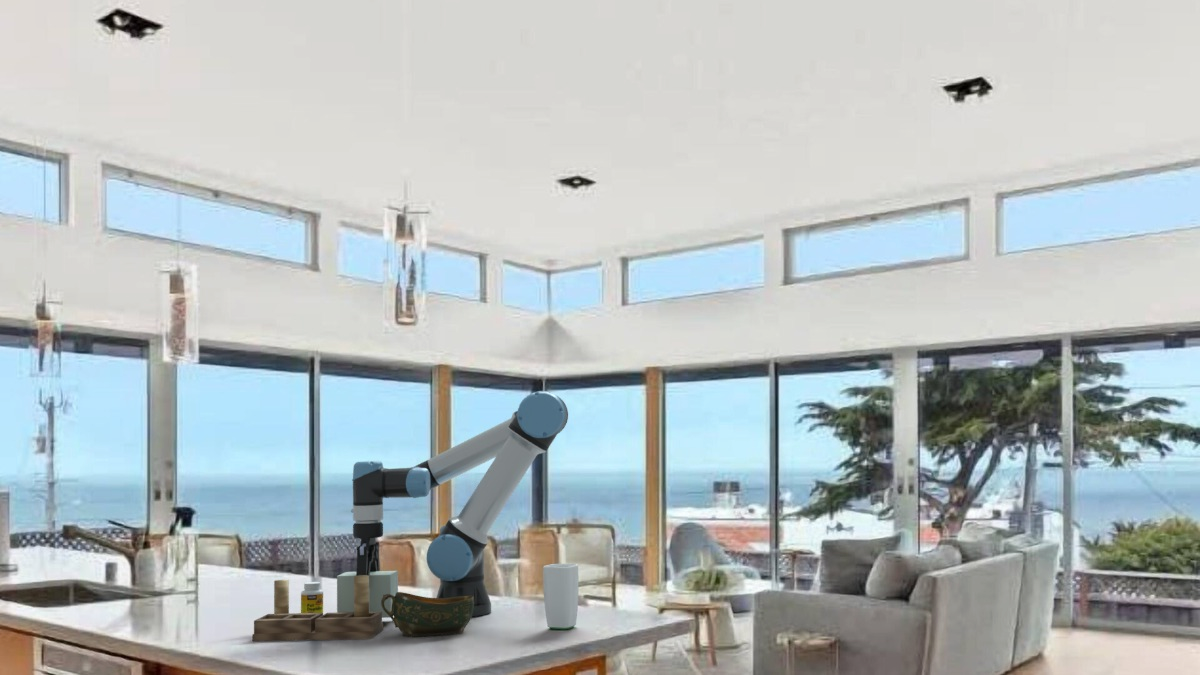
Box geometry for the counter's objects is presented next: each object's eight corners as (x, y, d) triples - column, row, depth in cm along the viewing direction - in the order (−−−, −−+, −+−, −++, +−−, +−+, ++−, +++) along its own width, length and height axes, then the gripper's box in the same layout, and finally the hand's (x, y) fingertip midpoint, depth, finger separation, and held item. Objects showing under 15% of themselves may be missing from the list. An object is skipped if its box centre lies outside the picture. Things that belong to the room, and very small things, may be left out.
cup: (581, 626, 262) (580, 564, 263) (569, 631, 255) (567, 567, 257) (554, 624, 265) (553, 563, 266) (541, 630, 258) (540, 566, 260)
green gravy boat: (399, 628, 265) (399, 586, 266) (477, 630, 261) (477, 587, 262) (378, 638, 253) (378, 594, 254) (460, 640, 249) (459, 595, 250)
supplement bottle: (304, 626, 273) (304, 584, 274) (297, 623, 277) (297, 582, 278) (326, 623, 276) (326, 582, 277) (319, 620, 280) (319, 580, 281)
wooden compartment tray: (382, 629, 264) (382, 572, 266) (371, 638, 252) (371, 578, 254) (269, 632, 265) (269, 575, 266) (252, 641, 253) (252, 581, 254)
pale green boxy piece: (398, 612, 279) (397, 570, 280) (390, 617, 270) (390, 574, 271) (346, 613, 279) (345, 571, 280) (337, 618, 270) (337, 576, 271)
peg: (290, 628, 270) (290, 579, 271) (286, 630, 266) (286, 581, 267) (276, 628, 270) (276, 579, 271) (272, 631, 266) (272, 581, 267)
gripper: (363, 519, 287) (364, 605, 285) (342, 525, 266) (342, 619, 264) (391, 518, 287) (392, 605, 285) (372, 524, 266) (373, 618, 264)
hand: (368, 611), depth 275 cm, fingers closed on pale green boxy piece, 9 cm apart
